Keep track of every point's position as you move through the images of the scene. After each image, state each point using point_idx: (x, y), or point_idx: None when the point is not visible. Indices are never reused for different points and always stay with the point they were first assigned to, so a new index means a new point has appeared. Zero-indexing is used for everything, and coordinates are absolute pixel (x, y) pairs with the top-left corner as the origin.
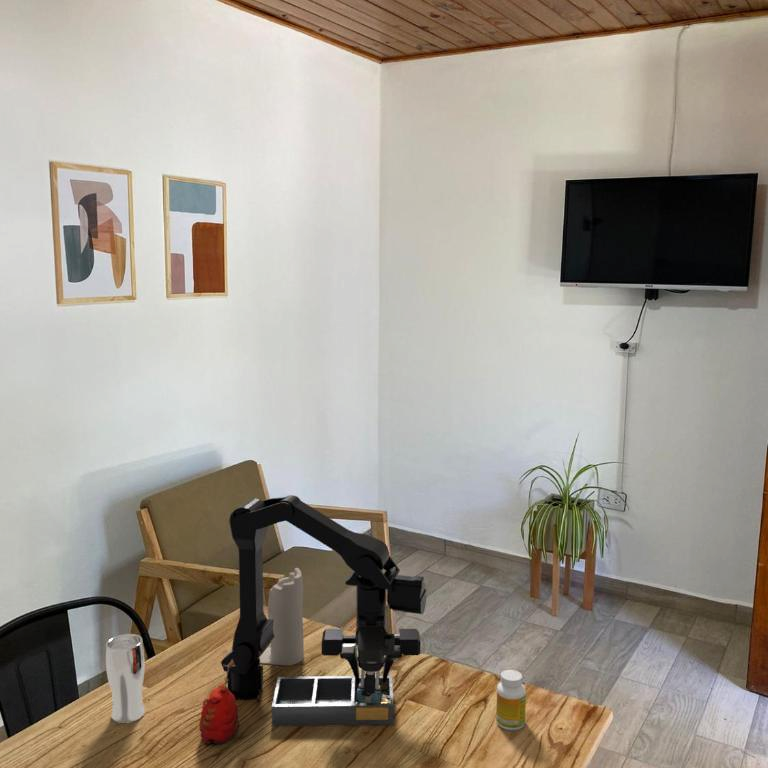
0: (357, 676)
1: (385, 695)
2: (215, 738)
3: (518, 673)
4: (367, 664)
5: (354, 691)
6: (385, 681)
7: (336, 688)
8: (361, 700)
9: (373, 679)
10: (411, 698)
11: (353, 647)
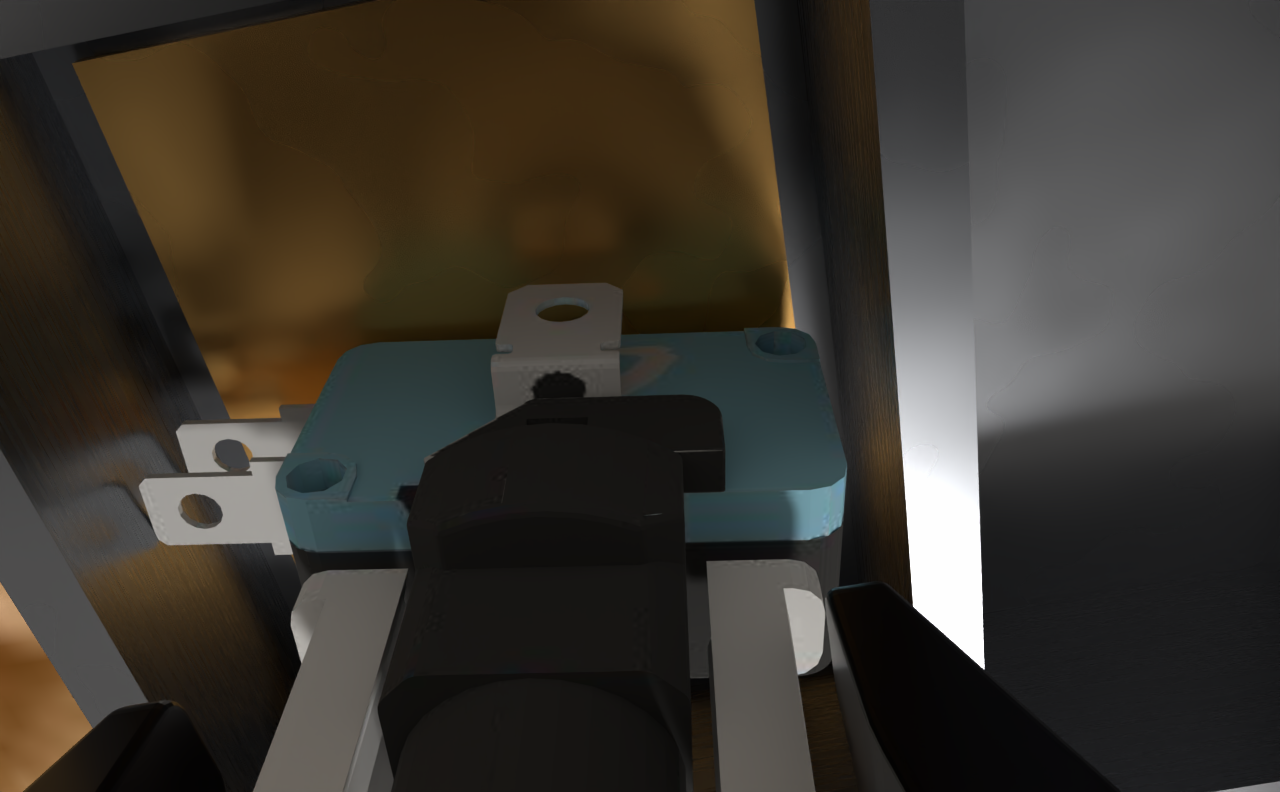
0: (947, 751)
1: (238, 530)
2: None
3: None
4: None
5: (902, 440)
6: (59, 762)
7: (1192, 626)
8: (710, 357)
9: (410, 765)
10: (21, 676)
11: None
